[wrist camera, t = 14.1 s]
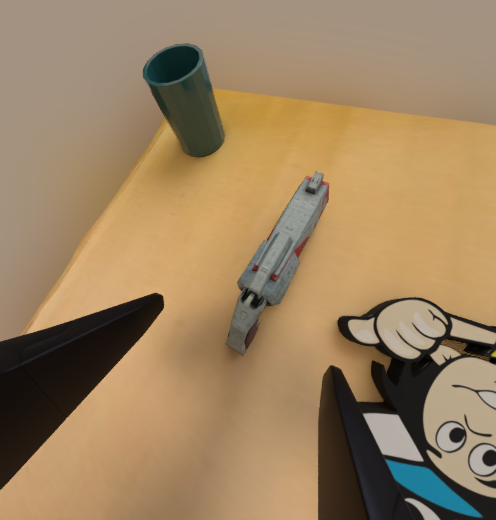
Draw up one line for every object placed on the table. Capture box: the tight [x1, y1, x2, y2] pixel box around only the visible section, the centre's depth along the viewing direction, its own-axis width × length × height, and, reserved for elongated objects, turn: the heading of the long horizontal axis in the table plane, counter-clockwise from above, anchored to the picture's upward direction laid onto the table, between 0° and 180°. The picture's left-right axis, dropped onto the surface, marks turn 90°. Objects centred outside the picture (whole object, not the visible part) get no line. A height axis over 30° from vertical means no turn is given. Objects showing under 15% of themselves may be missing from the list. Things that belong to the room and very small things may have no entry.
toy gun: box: [225, 171, 329, 356], centre depth 20 cm, size 4×20×10 cm, turn 151°
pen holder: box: [143, 43, 225, 157], centre depth 27 cm, size 8×8×10 cm
